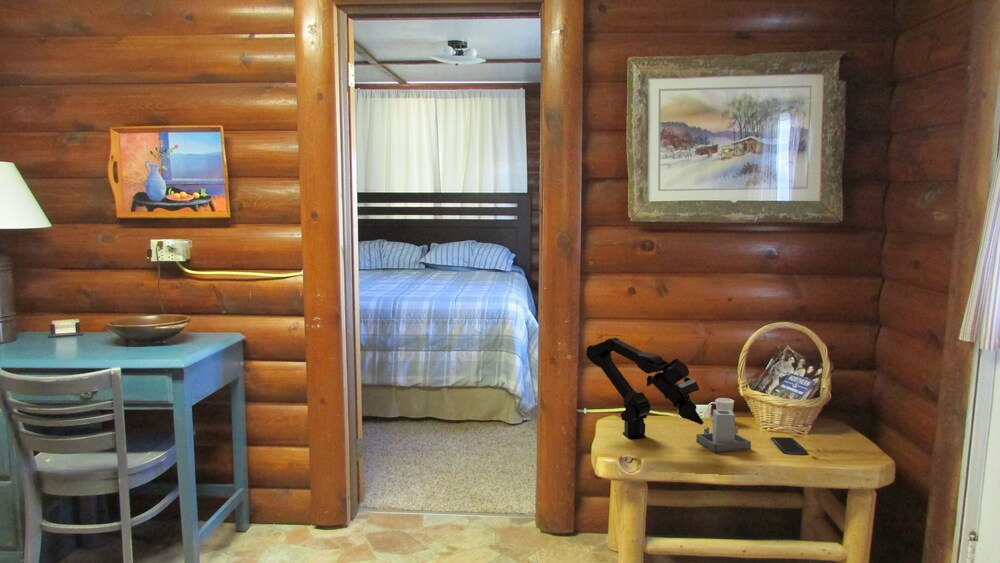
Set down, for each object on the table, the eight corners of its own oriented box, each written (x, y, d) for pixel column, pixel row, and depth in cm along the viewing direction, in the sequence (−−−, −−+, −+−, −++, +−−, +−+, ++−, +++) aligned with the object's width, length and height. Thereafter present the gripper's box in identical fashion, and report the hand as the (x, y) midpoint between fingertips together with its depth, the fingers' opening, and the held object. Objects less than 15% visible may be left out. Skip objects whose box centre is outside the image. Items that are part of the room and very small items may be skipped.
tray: (714, 453, 216) (714, 445, 216) (696, 442, 228) (696, 434, 227) (750, 449, 219) (750, 441, 219) (730, 438, 231) (731, 430, 230)
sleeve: (716, 446, 221) (716, 414, 220) (712, 440, 227) (713, 409, 226) (739, 446, 220) (739, 415, 219) (734, 440, 226) (735, 410, 225)
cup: (735, 423, 247) (736, 403, 247) (708, 422, 249) (708, 402, 248) (732, 418, 254) (732, 398, 254) (705, 417, 256) (706, 397, 255)
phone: (784, 452, 215) (769, 437, 230) (784, 455, 215) (769, 440, 230) (808, 452, 214) (792, 437, 229) (808, 455, 214) (792, 440, 229)
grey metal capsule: (705, 437, 233) (705, 428, 232) (703, 435, 234) (703, 427, 234) (710, 436, 233) (710, 428, 233) (707, 435, 235) (707, 426, 234)
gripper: (689, 378, 213) (723, 411, 213) (680, 365, 232) (711, 396, 232) (665, 401, 215) (698, 434, 215) (657, 386, 233) (688, 417, 233)
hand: (699, 419), depth 224 cm, fingers open, 9 cm apart
